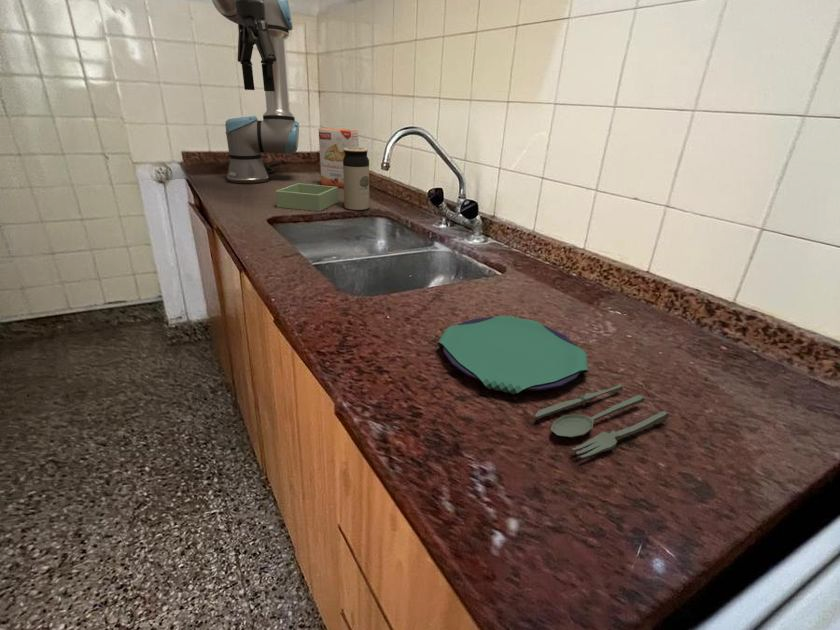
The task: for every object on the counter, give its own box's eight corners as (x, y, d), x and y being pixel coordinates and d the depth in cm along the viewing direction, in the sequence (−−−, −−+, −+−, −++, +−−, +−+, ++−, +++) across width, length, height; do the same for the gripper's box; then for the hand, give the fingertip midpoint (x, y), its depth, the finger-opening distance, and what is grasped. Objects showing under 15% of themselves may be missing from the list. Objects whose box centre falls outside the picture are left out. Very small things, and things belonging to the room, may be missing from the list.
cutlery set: (520, 318, 77) (522, 306, 76) (681, 422, 53) (687, 407, 52) (417, 341, 68) (418, 328, 67) (555, 478, 45) (559, 460, 44)
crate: (298, 198, 154) (297, 183, 152) (338, 202, 151) (338, 186, 149) (276, 207, 141) (275, 190, 139) (319, 211, 138) (318, 195, 136)
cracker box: (320, 185, 175) (317, 127, 166) (329, 183, 180) (326, 127, 171) (351, 189, 171) (350, 130, 162) (359, 187, 176) (358, 129, 167)
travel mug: (340, 206, 145) (337, 147, 137) (361, 204, 150) (360, 146, 142) (352, 211, 140) (350, 150, 132) (374, 209, 144) (373, 149, 136)
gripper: (218, 3, 125) (229, 89, 134) (255, -7, 109) (265, 91, 118) (245, 7, 130) (254, 89, 139) (284, -2, 113) (291, 92, 122)
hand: (259, 90), depth 128 cm, fingers open, 13 cm apart
